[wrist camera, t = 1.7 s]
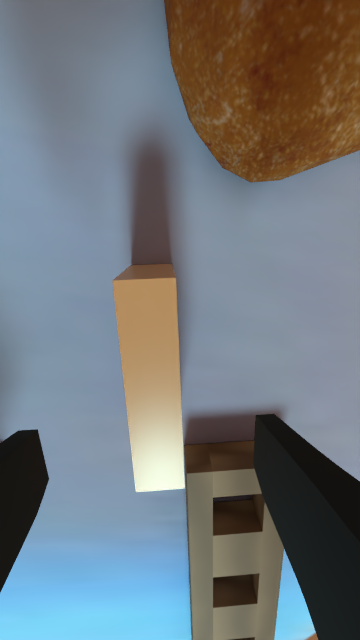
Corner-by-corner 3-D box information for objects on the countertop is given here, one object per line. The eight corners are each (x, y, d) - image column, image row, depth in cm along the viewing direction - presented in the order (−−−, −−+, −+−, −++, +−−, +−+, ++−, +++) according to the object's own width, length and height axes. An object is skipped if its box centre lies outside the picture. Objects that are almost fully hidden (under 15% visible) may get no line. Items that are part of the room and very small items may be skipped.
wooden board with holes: (192, 642, 27) (194, 681, 25) (184, 445, 20) (186, 473, 17) (261, 635, 27) (270, 673, 25) (277, 438, 20) (292, 465, 18)
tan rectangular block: (144, 415, 19) (135, 492, 13) (131, 265, 16) (112, 280, 10) (178, 413, 19) (184, 488, 13) (171, 263, 16) (176, 277, 10)
